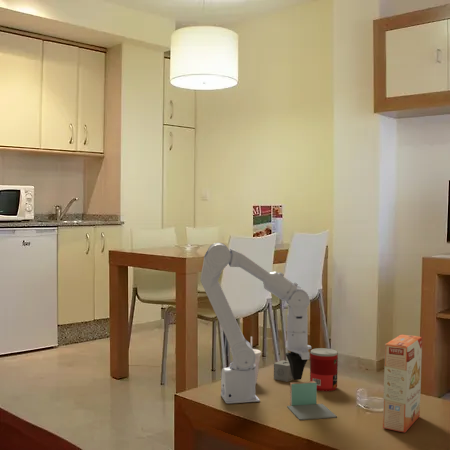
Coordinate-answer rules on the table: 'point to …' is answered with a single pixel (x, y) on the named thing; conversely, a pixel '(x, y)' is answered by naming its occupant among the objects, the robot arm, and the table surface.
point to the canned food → (324, 368)
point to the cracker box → (402, 382)
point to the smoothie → (257, 354)
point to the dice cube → (282, 371)
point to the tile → (303, 393)
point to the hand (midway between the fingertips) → (297, 379)
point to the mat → (311, 411)
